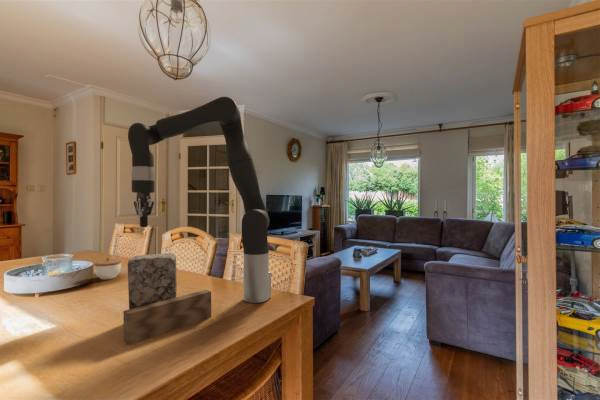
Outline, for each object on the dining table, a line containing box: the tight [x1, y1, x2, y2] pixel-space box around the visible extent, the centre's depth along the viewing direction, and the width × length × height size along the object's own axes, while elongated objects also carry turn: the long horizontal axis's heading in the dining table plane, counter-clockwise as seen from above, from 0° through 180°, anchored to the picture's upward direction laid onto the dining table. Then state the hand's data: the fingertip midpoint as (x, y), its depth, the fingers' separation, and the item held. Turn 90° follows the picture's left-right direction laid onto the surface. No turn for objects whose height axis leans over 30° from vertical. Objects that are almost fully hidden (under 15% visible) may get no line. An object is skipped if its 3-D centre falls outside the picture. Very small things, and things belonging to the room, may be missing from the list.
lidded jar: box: [94, 257, 122, 280], centre depth 141 cm, size 11×11×9 cm
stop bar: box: [122, 289, 212, 346], centre depth 86 cm, size 24×3×8 cm, turn 138°
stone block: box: [127, 252, 178, 310], centre depth 92 cm, size 13×7×20 cm, turn 114°
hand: (143, 226), depth 109 cm, fingers closed
